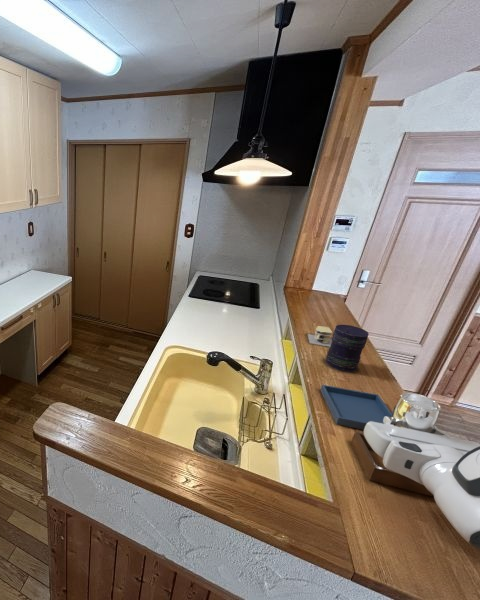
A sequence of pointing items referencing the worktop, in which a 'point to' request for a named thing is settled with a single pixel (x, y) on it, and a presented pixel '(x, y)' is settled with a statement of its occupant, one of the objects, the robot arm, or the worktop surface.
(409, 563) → the worktop surface
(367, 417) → the tray
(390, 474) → the wooden square box
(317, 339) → the stacked layers on plate
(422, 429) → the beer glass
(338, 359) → the navy layered cylinder
